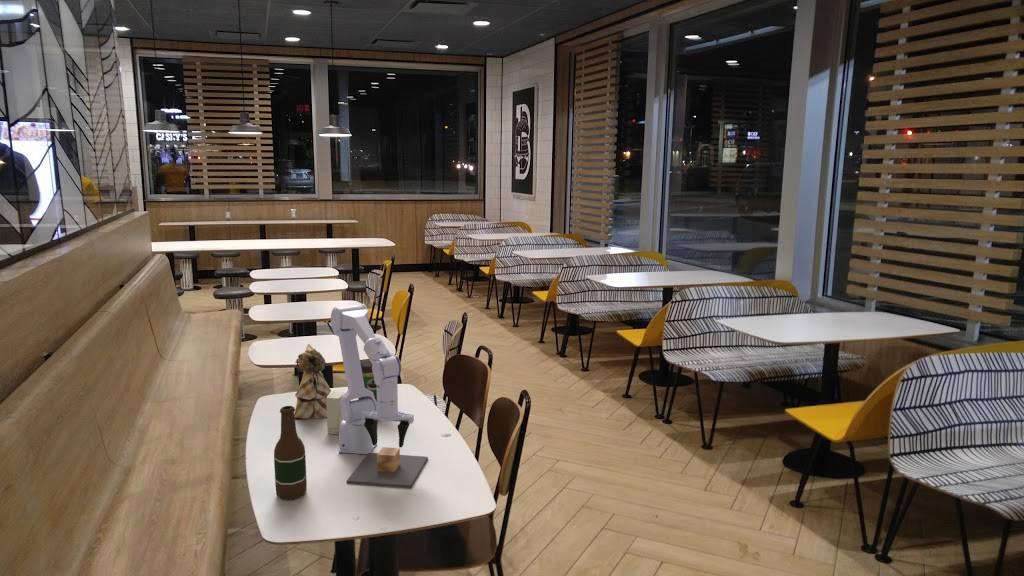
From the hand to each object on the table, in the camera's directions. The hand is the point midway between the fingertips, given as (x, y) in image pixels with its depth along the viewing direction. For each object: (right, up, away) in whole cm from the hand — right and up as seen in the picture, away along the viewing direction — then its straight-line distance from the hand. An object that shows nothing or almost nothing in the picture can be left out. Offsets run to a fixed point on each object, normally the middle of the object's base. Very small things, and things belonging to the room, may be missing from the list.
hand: (388, 445), depth 192 cm
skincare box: (-22, -2, +29) cm, 36 cm away
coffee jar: (-14, +1, +47) cm, 49 cm away
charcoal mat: (0, -8, +1) cm, 8 cm away
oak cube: (0, -7, +1) cm, 7 cm away
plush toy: (-33, +1, +43) cm, 54 cm away
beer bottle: (-23, -10, -13) cm, 28 cm away
